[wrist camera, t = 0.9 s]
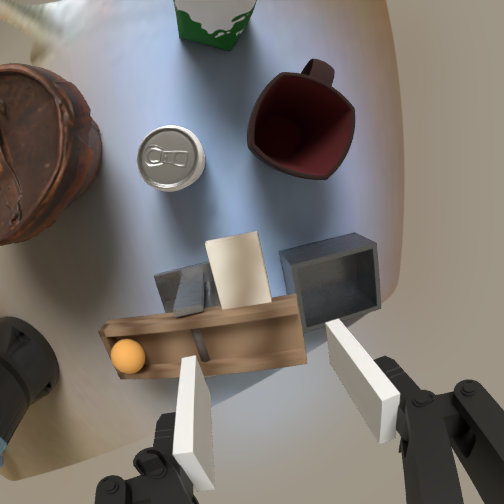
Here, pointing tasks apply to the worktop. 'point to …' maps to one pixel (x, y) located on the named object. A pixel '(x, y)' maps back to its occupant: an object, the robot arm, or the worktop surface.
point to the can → (170, 158)
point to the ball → (128, 356)
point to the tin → (333, 279)
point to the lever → (220, 322)
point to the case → (42, 149)
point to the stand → (188, 290)
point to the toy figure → (1, 460)
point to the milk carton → (213, 20)
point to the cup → (302, 123)
